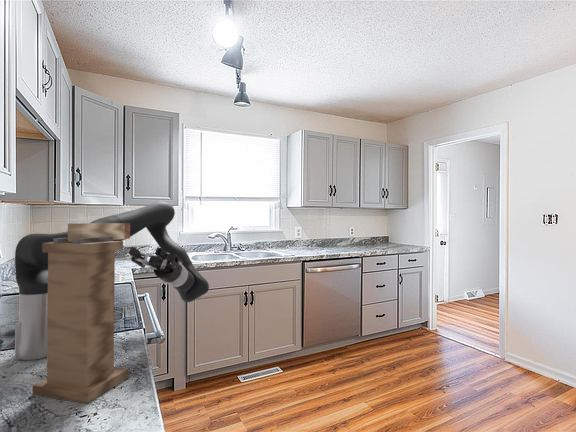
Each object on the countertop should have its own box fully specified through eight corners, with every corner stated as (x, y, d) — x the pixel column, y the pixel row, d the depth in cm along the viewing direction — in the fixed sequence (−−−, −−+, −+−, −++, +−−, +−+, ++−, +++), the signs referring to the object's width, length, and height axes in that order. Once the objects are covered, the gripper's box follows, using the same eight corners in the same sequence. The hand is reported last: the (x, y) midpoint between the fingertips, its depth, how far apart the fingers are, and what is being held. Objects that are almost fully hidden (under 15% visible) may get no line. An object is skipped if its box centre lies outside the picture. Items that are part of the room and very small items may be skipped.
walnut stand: (79, 370, 84) (80, 236, 84) (128, 376, 80) (129, 236, 81) (32, 395, 72) (34, 238, 73) (87, 403, 69) (89, 239, 69)
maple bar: (120, 238, 90) (120, 223, 90) (130, 238, 89) (130, 223, 89) (67, 241, 74) (67, 223, 74) (78, 242, 73) (79, 223, 74)
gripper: (156, 260, 114) (127, 238, 100) (194, 261, 110) (170, 238, 97) (148, 282, 110) (117, 261, 97) (188, 283, 107) (162, 263, 93)
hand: (143, 250), depth 97 cm, fingers open, 8 cm apart
